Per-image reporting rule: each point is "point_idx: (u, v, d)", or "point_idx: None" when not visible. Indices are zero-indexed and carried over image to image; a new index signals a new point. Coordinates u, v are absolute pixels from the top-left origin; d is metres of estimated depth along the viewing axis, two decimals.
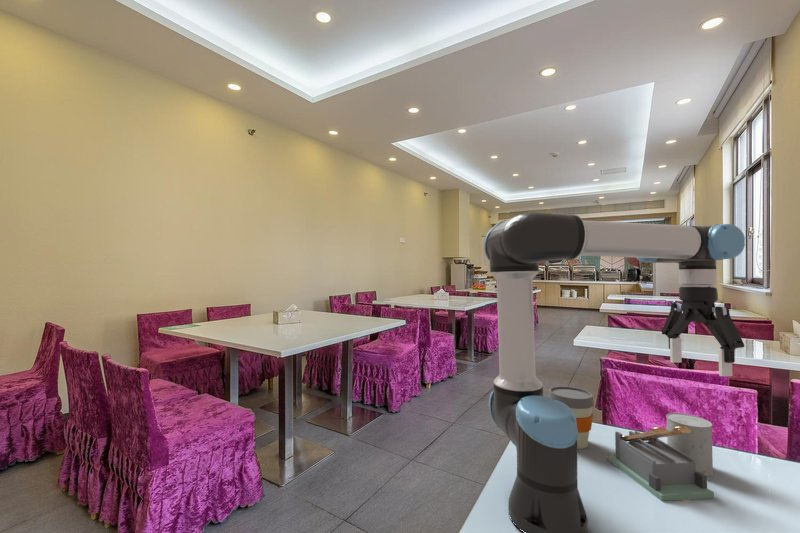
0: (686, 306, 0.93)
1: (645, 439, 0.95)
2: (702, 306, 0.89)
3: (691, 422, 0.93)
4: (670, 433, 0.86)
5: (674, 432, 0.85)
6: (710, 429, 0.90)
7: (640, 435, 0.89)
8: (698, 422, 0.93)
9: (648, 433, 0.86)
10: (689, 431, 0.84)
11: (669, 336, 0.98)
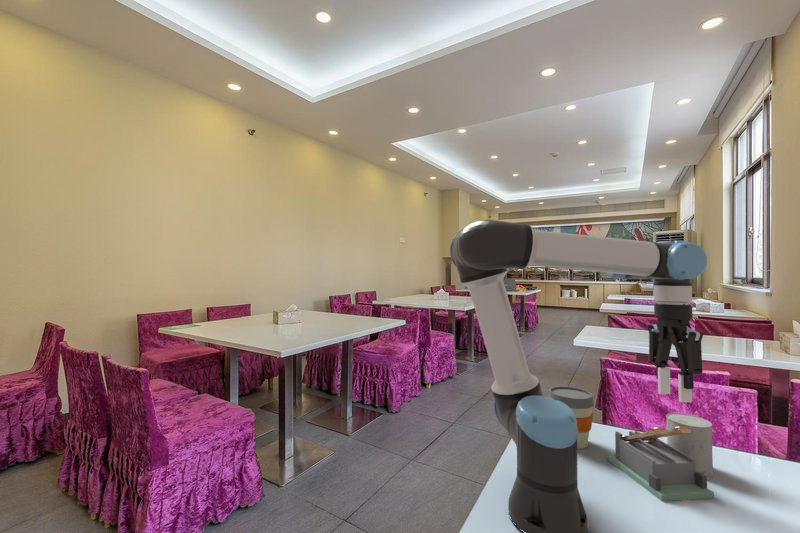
0: (661, 322, 0.90)
1: (645, 439, 0.95)
2: (678, 324, 0.85)
3: (691, 422, 0.93)
4: (670, 433, 0.86)
5: (674, 432, 0.85)
6: (710, 429, 0.90)
7: (640, 435, 0.89)
8: (698, 422, 0.93)
9: (648, 433, 0.86)
10: (689, 431, 0.84)
11: (657, 364, 0.90)
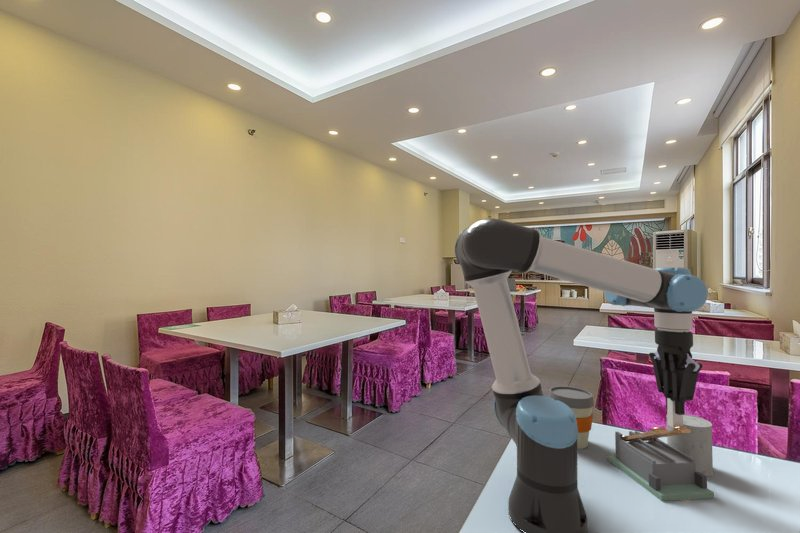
0: (661, 347, 0.90)
1: (645, 439, 0.95)
2: (680, 351, 0.84)
3: (691, 422, 0.93)
4: (670, 433, 0.86)
5: (674, 432, 0.85)
6: (710, 429, 0.90)
7: (640, 435, 0.89)
8: (698, 422, 0.93)
9: (648, 433, 0.86)
10: (689, 431, 0.84)
11: (666, 395, 0.88)
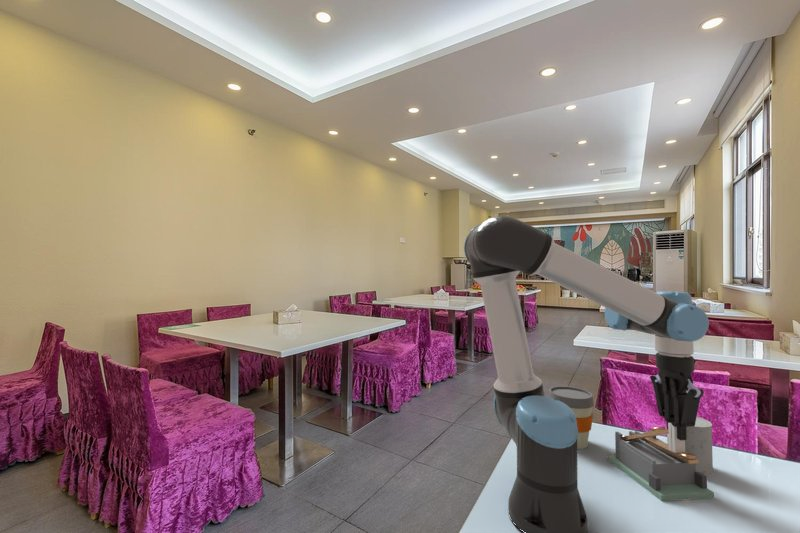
0: (662, 371, 0.89)
1: None
2: (681, 376, 0.84)
3: None
4: (675, 456, 0.85)
5: (680, 458, 0.83)
6: (710, 429, 0.90)
7: (640, 435, 0.89)
8: (698, 422, 0.93)
9: (648, 433, 0.86)
10: (697, 462, 0.82)
11: (667, 419, 0.87)
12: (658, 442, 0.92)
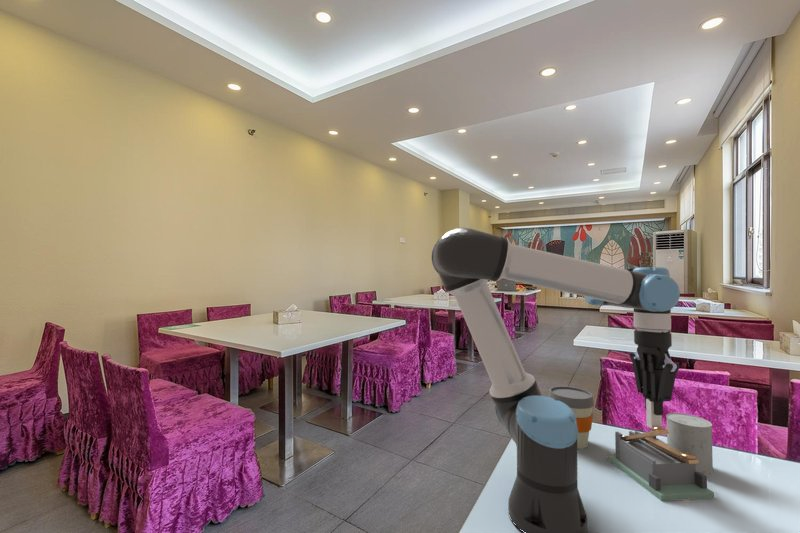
0: (640, 347, 0.89)
1: None
2: (658, 351, 0.84)
3: (691, 422, 0.93)
4: (675, 456, 0.85)
5: (680, 458, 0.83)
6: (710, 429, 0.90)
7: (640, 435, 0.89)
8: (698, 422, 0.93)
9: (648, 433, 0.86)
10: (697, 462, 0.82)
11: (645, 395, 0.87)
12: (658, 442, 0.92)
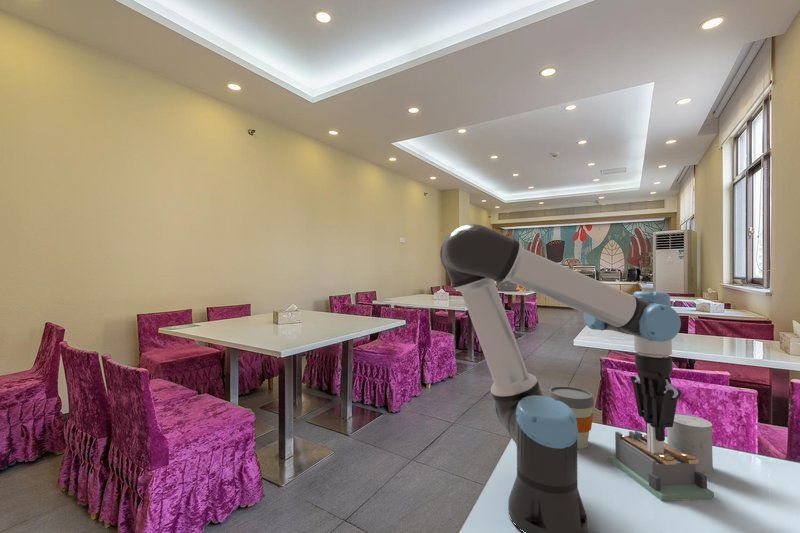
0: (641, 371, 0.89)
1: None
2: (659, 377, 0.83)
3: (691, 422, 0.93)
4: (675, 456, 0.85)
5: (680, 458, 0.83)
6: (710, 429, 0.90)
7: (643, 450, 0.87)
8: (698, 422, 0.93)
9: (653, 455, 0.84)
10: (697, 462, 0.82)
11: (646, 420, 0.87)
12: None
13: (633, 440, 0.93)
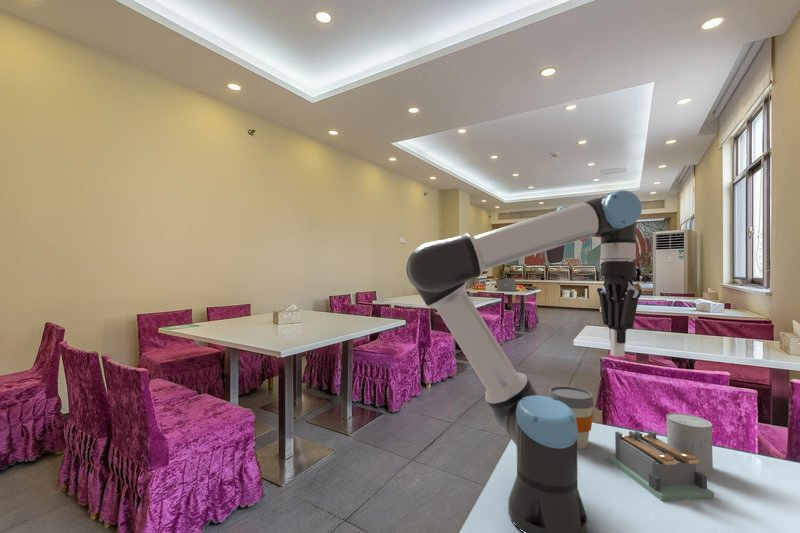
0: (606, 280, 0.91)
1: None
2: (622, 280, 0.85)
3: (691, 422, 0.93)
4: (675, 456, 0.85)
5: (680, 458, 0.83)
6: (710, 429, 0.90)
7: (643, 450, 0.87)
8: (698, 422, 0.93)
9: (653, 455, 0.84)
10: (697, 462, 0.82)
11: (610, 326, 0.89)
12: (658, 442, 0.92)
13: (633, 440, 0.93)
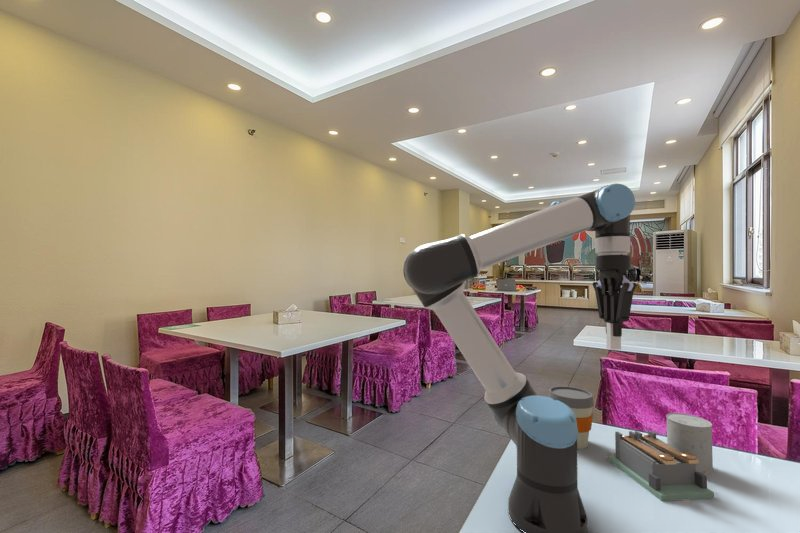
0: (602, 274, 0.91)
1: None
2: (616, 273, 0.85)
3: (691, 422, 0.93)
4: (675, 456, 0.85)
5: (680, 458, 0.83)
6: (710, 429, 0.90)
7: (643, 450, 0.87)
8: (698, 422, 0.93)
9: (653, 455, 0.84)
10: (697, 462, 0.82)
11: (606, 319, 0.89)
12: (658, 442, 0.92)
13: (633, 440, 0.93)
